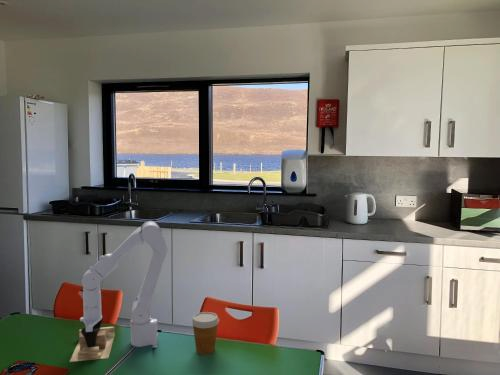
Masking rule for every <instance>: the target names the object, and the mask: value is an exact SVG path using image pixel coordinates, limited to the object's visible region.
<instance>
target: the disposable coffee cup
mask: <svg viewBox="0 0 500 375" xmlns="http://www.w3.org/2000/svg"><path fill="white" fill-rule="evenodd" d="M219 322H220V318H219V317H218V315H217V313H215V312H211V311H210V312H209V311H202V312H198V313H196V314H194V315H193V316H192V319H191V324H192V329H193V336H194V342H195V351H196V353H197V354H199V355H211V354H212V353H214V352H215V350H216V342H217V341H216V339H217V332H218V324H219Z"/></svg>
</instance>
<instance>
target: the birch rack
mask: <svg viewBox="0 0 500 375" xmlns="http://www.w3.org/2000/svg"><path fill="white" fill-rule="evenodd" d="M81 330H82V328H81V329H79V330H78V335H79V336H78V337H79V338H78V339H79V340H78V342H77V344H76V346H75V348H74V350H73V353H72V355H71V357H70V359H69V363H72V362H73V363H74V362H82V361H85V360H78V353H79V351H80V336H81ZM101 330H106V342H107V344H106V347H105V349H101V350H99V353H100V352H101V358H98V359H97V360H100V359H109V357H110V354H111V350H112V346H113V343H114V339H115V326H105V327H103V326H102V327H100V331H101ZM91 360H93V361H95V359H88V360H87V361H91Z"/></svg>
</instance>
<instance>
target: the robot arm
mask: <svg viewBox="0 0 500 375" xmlns="http://www.w3.org/2000/svg"><path fill="white" fill-rule="evenodd" d="M144 242H145V243H146V244H148V245H149V246H150V249H151V250H152V253H151V256H150V259H149V262H148V266H147V269H146V272H145V275H144V276H143V277H144V279H143V281H142V284H141V287H140V290H139V291H138V294H137V297H136V299H135V300H133V301H132V304H131V314H130V315H131V317H130V345H131V346H133V347H138V348H141V347H145V346H152V349H154V348H155V349H156V348H158V340H159V333H158V319H157V318H152V316H151V311H150V310H151V306H152V301H153V300H152V299H153V295H154V293H155V289H156V286H157V283H158V281H159V278H160V274H161V271H162V268H163V265H164V261H165V258H166V256H167V253H168V246H167V242H166V240H165V237H164V234H163V231H162V229H161V227H160V226H159V224H158V223H157V222H156V221H153V220H147V221H145V222H144V223H143V224H141V226H139V227H138V228H136V229H135V230H134V231H133V232H131V234H130V235H129V236H128V237H127V238H126V239H125V240H124V241H123V242H122V243H121V244H120V245H118V247H117V248H116V249H115V250H114V251H113V252H111V253H105V254H104V255H103V254H102V255H100V257H99V260H97V262H95V264H94V265H93V266H92V265H90V267H89V268H88V270H86V271H85V272H84V274H83V275H82V279H81V285H82V287H83V288H82V291H83V292H82V301H83V302H82V303H83V304H82V306H83V307H82V308H83V309H82V310H83V316H81V317H80V318H79V321H80V322H83V324H84V326H85V328H81V329H82V330H81V333H82V335H83V336H84V338H85V340H86V343H87V347H95V345H96V338H97V334H98V331H100V328H101V326H102V322H103V320H104V315H103V314H102V293H101V291H102V290H101V281H102V280H104V279H106V278H107V277H108V275H110V274H111V273H112V272H113V271H114V270H115V269H116V268H117V267H118V266H119V260H120V259H121V258H122V257H123V256H125V255H126V254H127V253H128V252H129V251H131V249H133V248H134V247H135V246H137V245H144V244H145V243H144Z"/></svg>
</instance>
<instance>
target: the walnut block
mask: <svg viewBox="0 0 500 375" xmlns="http://www.w3.org/2000/svg"><path fill="white" fill-rule="evenodd" d="M106 344H107V342H106V330H101V331H98V334H97V338H96V345H95V347H97V346H99V350H101V349H105V347H106ZM83 348H87V343H86V340H85V338H84V336H83V335H82V333H81V336H80V351H82V349H83Z"/></svg>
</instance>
